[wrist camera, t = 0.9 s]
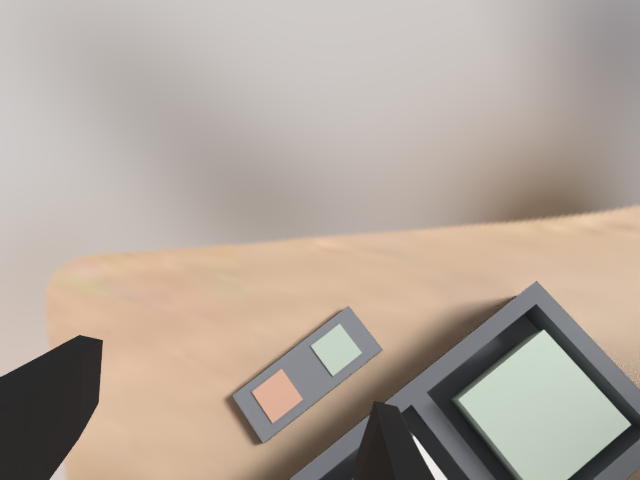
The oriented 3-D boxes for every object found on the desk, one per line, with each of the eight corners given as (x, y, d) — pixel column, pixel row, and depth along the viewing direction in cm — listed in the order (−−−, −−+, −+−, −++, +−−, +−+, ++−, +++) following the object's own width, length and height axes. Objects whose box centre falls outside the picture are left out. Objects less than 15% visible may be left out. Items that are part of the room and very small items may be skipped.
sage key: (601, 421, 24) (631, 424, 21) (522, 489, 24) (541, 501, 21) (525, 337, 26) (544, 329, 23) (449, 399, 25) (458, 399, 22)
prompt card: (382, 350, 28) (382, 349, 27) (265, 442, 27) (262, 443, 27) (349, 307, 29) (348, 305, 28) (235, 395, 28) (231, 395, 27)
